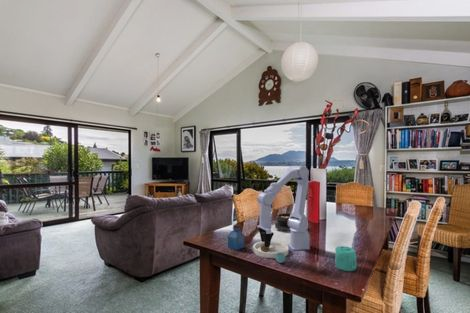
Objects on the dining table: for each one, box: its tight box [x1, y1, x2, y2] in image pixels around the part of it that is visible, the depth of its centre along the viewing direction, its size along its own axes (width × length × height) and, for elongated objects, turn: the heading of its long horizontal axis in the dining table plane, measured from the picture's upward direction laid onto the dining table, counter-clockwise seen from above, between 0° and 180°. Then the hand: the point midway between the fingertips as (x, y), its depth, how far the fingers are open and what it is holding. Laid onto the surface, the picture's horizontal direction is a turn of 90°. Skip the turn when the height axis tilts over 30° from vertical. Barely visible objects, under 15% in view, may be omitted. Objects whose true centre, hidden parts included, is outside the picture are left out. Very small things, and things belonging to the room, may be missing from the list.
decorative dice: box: [334, 245, 357, 272], centre depth 109 cm, size 8×8×8 cm
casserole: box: [274, 213, 299, 231], centre depth 172 cm, size 25×19×8 cm
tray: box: [252, 240, 290, 259], centre depth 127 cm, size 18×18×2 cm
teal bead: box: [275, 253, 286, 264], centre depth 113 cm, size 4×4×4 cm
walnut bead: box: [261, 244, 269, 252], centre depth 124 cm, size 4×4×4 cm
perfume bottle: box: [227, 224, 245, 251], centre depth 133 cm, size 6×6×12 cm
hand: (265, 244), depth 123 cm, fingers open, 7 cm apart
